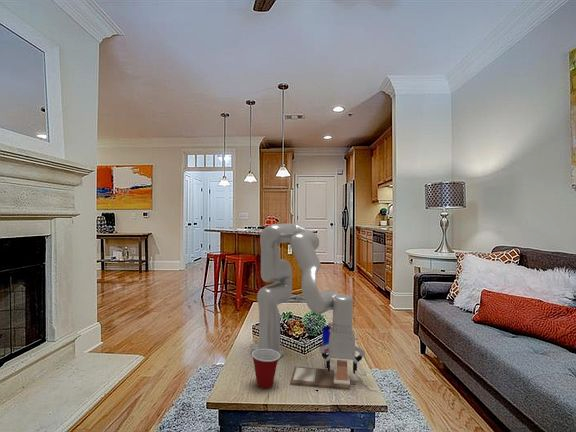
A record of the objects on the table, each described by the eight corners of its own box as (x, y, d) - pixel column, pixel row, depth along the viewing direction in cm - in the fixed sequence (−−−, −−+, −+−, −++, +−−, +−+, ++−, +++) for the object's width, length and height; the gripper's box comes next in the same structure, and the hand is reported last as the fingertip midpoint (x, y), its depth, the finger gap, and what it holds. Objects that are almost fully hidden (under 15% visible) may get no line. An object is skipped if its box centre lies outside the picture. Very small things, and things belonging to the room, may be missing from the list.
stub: (333, 383, 129) (333, 368, 129) (334, 371, 139) (334, 357, 139) (350, 385, 128) (350, 370, 128) (349, 372, 138) (349, 358, 138)
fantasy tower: (345, 353, 159) (345, 327, 159) (320, 354, 158) (320, 328, 158) (339, 343, 171) (340, 319, 170) (316, 344, 170) (316, 319, 169)
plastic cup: (282, 391, 126) (282, 358, 126) (252, 393, 124) (252, 360, 124) (277, 376, 137) (278, 346, 136) (250, 378, 135) (250, 348, 134)
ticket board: (290, 384, 130) (290, 380, 130) (294, 368, 143) (294, 365, 143) (349, 390, 127) (349, 385, 127) (348, 373, 140) (348, 369, 140)
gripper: (319, 329, 131) (318, 373, 132) (366, 332, 128) (364, 377, 129) (320, 322, 138) (319, 364, 139) (364, 325, 136) (363, 368, 136)
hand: (341, 371), depth 134 cm, fingers open, 9 cm apart
